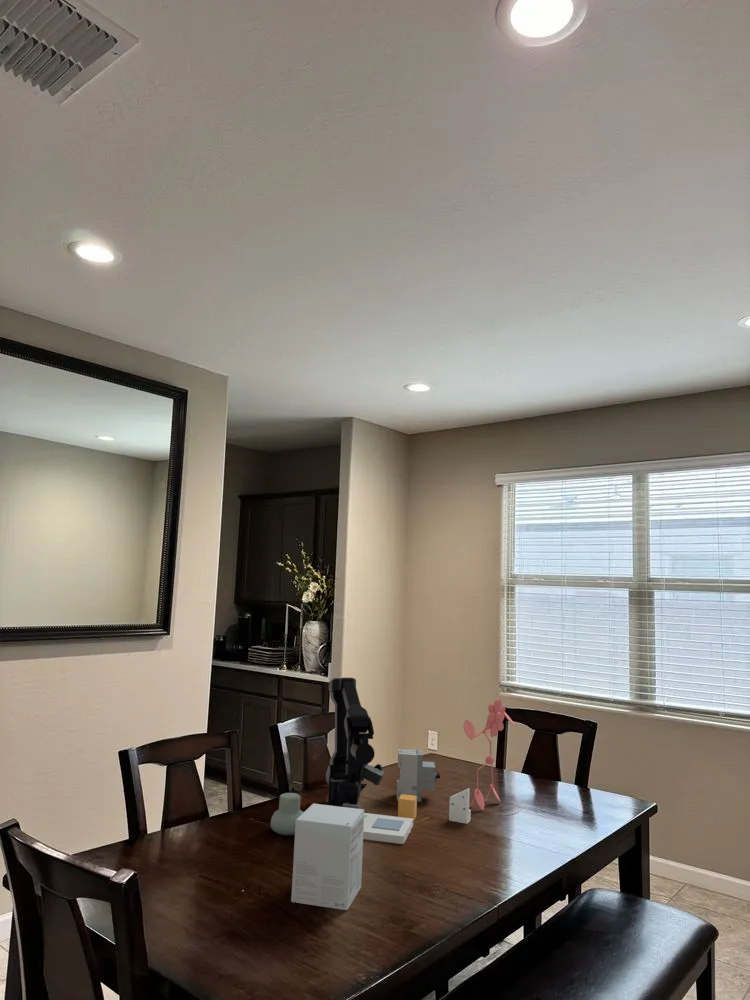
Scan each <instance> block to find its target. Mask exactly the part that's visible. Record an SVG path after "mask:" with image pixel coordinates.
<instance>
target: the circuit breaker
mask: <svg viewBox="0 0 750 1000" xmlns="http://www.w3.org/2000/svg"><path fill="white" fill-rule="evenodd" d="M423 756H424V755H423V750H422V749H406V748H405V749H400V748H399V749H398V753H397V768H400V769H399V779H397V780H396V801H397V802H398V799H399V797H400V796H401V794H404V795H413V796H417V803H418V802H419V803H422V793H423V792H422V791H433V792H434V791H436V781H437V779H441V774H440V772H437V769H436V765H435V761H425V760H423V759H424V757H423Z"/></svg>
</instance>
